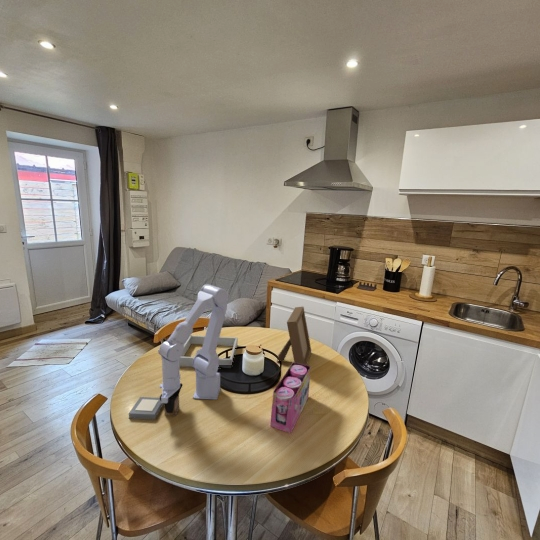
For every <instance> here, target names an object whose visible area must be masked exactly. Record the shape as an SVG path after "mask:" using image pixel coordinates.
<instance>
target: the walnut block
mask: <svg viewBox="0 0 540 540" xmlns="http://www.w3.org/2000/svg"><path fill="white" fill-rule="evenodd" d="M179 409H180V395H179V396H177V397H176V399H175V403H174V410H173V413H167V412H166V409H165V407H164V416H176V415H177V413H178V411H179Z"/></svg>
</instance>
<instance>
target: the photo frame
mask: <svg viewBox="0 0 540 540" xmlns="http://www.w3.org/2000/svg"><path fill="white" fill-rule="evenodd" d="M305 313H306V311H305V307H304V306H297V307H294V309H293V311H292V312H291V314H290V316H289V318H288V319H287V321H286V325H287V330H288V336H289V339H288V340H287V342H286V343H285V345H284V346H283V347H282V349H281V350H280V352H279V353H278V354H277V360H276V363H277V364H279V363H280V362H279V361H278V358H279V359H280V360H281V362H284V361H285V359H286V357H287V354H288V352H289V350H290V349H291V351H292V356H293V357H292V358H293V362H295V363H299V364H303V365H307V366H309V365H308V364H309V361H310V358H311V354H312V346H311V341H310V335H309V330H308V325H307V319H306V314H305Z"/></svg>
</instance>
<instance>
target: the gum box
mask: <svg viewBox="0 0 540 540" xmlns="http://www.w3.org/2000/svg"><path fill="white" fill-rule="evenodd" d="M310 382H311V366H310V365H303V364H299V363H295V362H294V361H293V362H292V363H291V364H290V365H289V368H288V369H287V371H286V372H285V373H284V375H283V377H282V378H281V379H280V381H279V382H278V383H277V385H276V386H275V388H274V390H273V392H272V403H271V404H272V405H271V413H270V414H271V415H270V425H269V426H270V427H272V428H275V429H276V430H280V431H282V432H285V433H288V434H292V431H293V430H294V427H295V426H296V423H297V421H298V419H299V417H300V416H301V413H302V411H303V409H304V408H305V405H306V403H307V400H308V399H309V393H310Z"/></svg>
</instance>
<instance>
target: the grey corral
mask: <svg viewBox="0 0 540 540" xmlns="http://www.w3.org/2000/svg"><path fill="white" fill-rule="evenodd" d="M204 339H205V335H194V334H191V335H190V337H189V338H188V340H187V341H186V343H185V344H184V348H183V354H182V356H181V357H180V358H179V367H189V368H190V367H191V368H193V366H192V361H193V358H194V357H195V356H186V353H187V352H188V351H189V348H190V347H191V345H203V343H204ZM217 346H226V347H228V346H229V347H232V350H231V352H230V357H229V358H225V357H223V358H222V357H221V358H220V357H219V361H218V365H232V362H233V363H234V361H233V358H234V359H235V357H234V355H235V356H236V352H237V349H236V350H235V348H238V337H234V336H233V337H232V336H219V340H218V344H217ZM232 366H233V365H232Z"/></svg>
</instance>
